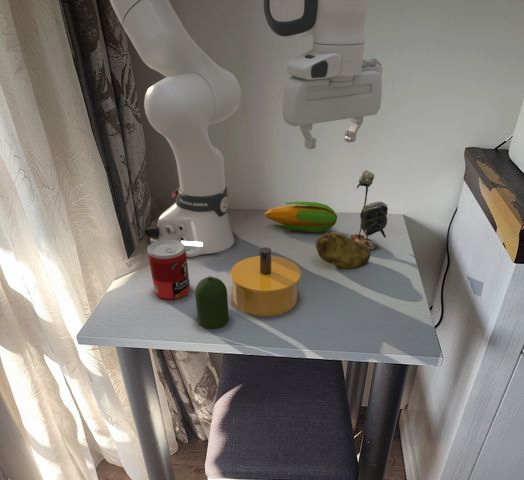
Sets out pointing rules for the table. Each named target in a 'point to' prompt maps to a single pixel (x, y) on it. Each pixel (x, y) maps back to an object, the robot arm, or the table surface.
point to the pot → (265, 301)
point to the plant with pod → (370, 215)
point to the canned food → (169, 269)
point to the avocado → (212, 303)
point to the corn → (303, 217)
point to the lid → (265, 273)
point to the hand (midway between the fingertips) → (330, 144)
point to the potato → (342, 250)
